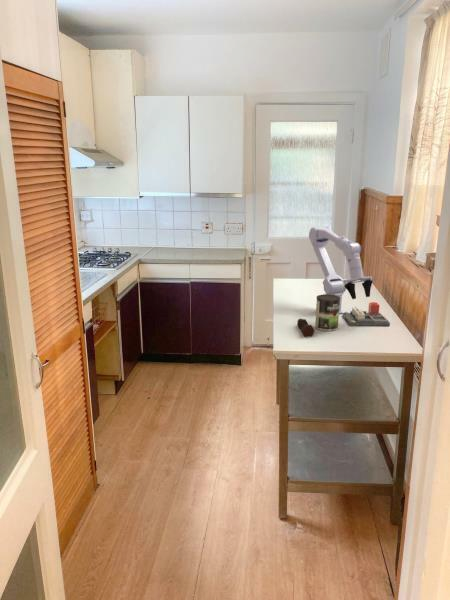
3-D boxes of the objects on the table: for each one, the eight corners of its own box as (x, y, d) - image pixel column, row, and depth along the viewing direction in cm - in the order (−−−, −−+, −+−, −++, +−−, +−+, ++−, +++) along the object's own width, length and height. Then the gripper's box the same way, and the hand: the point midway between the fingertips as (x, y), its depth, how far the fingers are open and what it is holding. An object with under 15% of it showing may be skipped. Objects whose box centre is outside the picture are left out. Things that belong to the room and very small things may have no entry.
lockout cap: (370, 314, 235) (371, 303, 233) (368, 312, 239) (369, 301, 237) (378, 314, 235) (379, 303, 233) (376, 312, 239) (377, 301, 237)
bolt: (301, 329, 220) (309, 339, 206) (292, 324, 219) (299, 334, 205) (308, 318, 219) (316, 328, 205) (299, 313, 218) (307, 323, 204)
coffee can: (343, 328, 215) (345, 298, 211) (324, 332, 210) (326, 301, 206) (328, 322, 224) (329, 293, 220) (310, 325, 219) (311, 295, 215)
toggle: (354, 316, 226) (355, 309, 225) (351, 313, 231) (352, 306, 230) (360, 316, 226) (361, 309, 225) (358, 313, 231) (358, 306, 230)
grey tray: (349, 325, 219) (350, 320, 218) (342, 315, 233) (342, 310, 232) (389, 326, 218) (390, 320, 218) (379, 315, 233) (380, 311, 232)
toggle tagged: (357, 320, 220) (358, 313, 219) (355, 317, 225) (355, 310, 224) (364, 320, 220) (365, 313, 219) (361, 317, 225) (362, 310, 224)
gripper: (347, 269, 215) (352, 298, 214) (374, 265, 220) (379, 294, 219) (338, 271, 222) (344, 300, 221) (364, 268, 226) (370, 296, 225)
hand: (361, 297), depth 220 cm, fingers open, 7 cm apart
